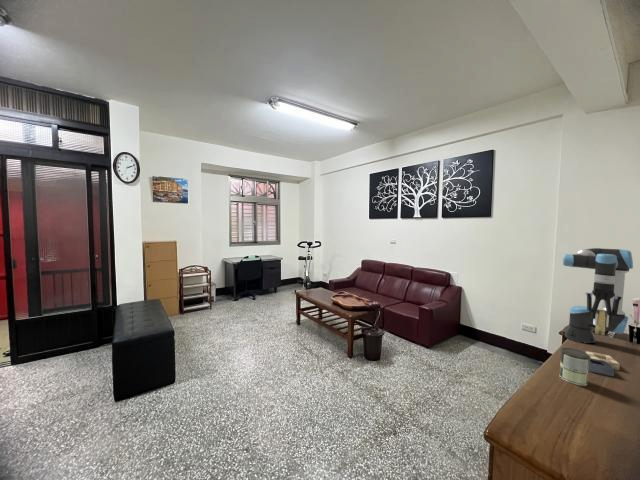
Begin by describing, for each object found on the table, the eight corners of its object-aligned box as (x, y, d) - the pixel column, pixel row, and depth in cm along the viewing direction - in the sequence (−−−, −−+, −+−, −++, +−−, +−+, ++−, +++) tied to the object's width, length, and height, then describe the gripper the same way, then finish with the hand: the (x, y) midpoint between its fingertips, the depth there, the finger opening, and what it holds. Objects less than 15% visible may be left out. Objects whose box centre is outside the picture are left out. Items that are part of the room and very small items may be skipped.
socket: (580, 363, 148) (580, 356, 148) (604, 368, 144) (605, 361, 143) (587, 371, 140) (587, 363, 140) (613, 376, 135) (614, 369, 135)
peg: (593, 332, 144) (595, 308, 144) (602, 333, 142) (604, 310, 142) (596, 334, 141) (598, 310, 140) (605, 335, 139) (607, 311, 139)
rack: (585, 356, 157) (585, 350, 157) (608, 361, 152) (609, 355, 152) (593, 365, 146) (594, 359, 146) (619, 370, 142) (619, 364, 141)
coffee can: (553, 373, 136) (555, 346, 136) (575, 375, 135) (577, 348, 135) (570, 384, 126) (572, 356, 125) (593, 387, 125) (596, 358, 124)
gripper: (585, 281, 141) (582, 324, 142) (630, 286, 133) (626, 331, 134) (580, 279, 148) (577, 320, 149) (622, 283, 140) (618, 326, 141)
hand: (600, 325), depth 142 cm, fingers closed on peg, 4 cm apart
